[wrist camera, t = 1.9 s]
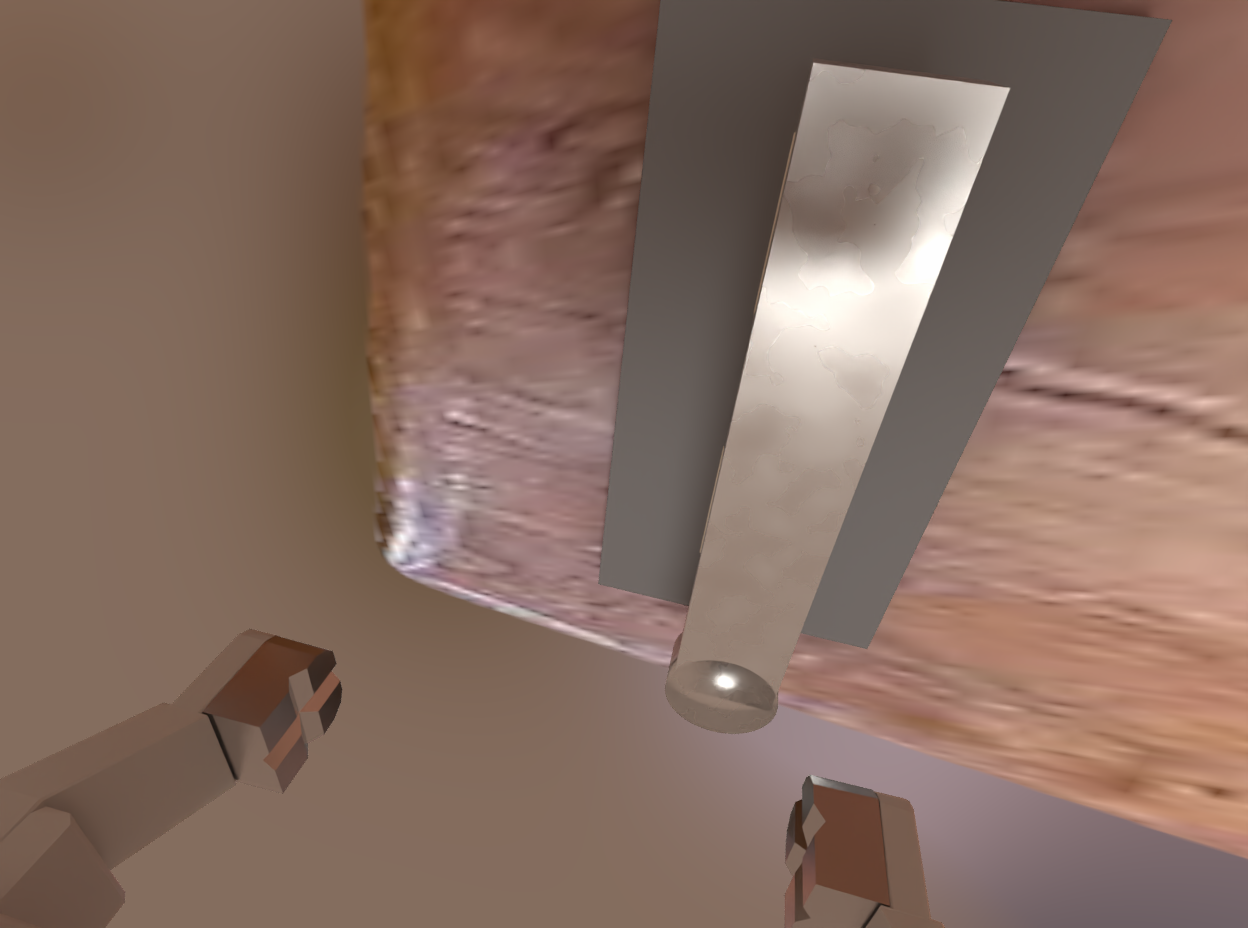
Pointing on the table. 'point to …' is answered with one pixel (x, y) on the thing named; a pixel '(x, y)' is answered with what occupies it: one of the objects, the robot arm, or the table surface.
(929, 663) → the table surface
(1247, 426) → the table surface
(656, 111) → the label board
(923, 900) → the robot arm
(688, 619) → the grey flat bar
